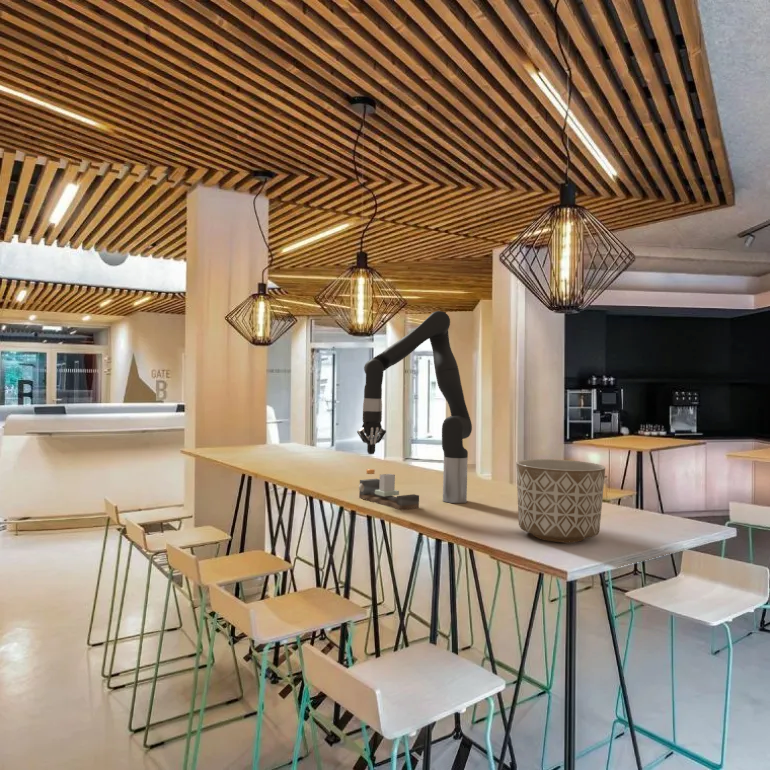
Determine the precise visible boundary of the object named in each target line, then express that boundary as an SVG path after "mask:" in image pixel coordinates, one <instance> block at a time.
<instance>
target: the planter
mask: <svg viewBox="0 0 770 770" xmlns="http://www.w3.org/2000/svg"><path fill="white" fill-rule="evenodd" d="M605 476H606V466H604V465H602V464H598V463H594V462H586V461H580V460H569V459H551V458H550V459H549V458H547V459H546V458H545V459H544V458H540V459H539V458H535V459H533V458H532V459H521V460H517V461H516V484H517V485H516V488H517V513H518V526H519V528H520V529H521V530H523V531H525V532H527V533H529V534H532V535H533V537H535V538H537V539H539V540H543V541H548V542H555V543H556V542H557V543H579V542H582V541H584V539H589V538H592V537H596V536H598V534H599V533H600V531H601V530H600V529H601V519H602V508H603V499H604V497H603V496H604V486H605V478H606V477H605Z"/></svg>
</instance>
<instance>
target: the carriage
mask: <svg viewBox="0 0 770 770" xmlns="http://www.w3.org/2000/svg"><path fill="white" fill-rule="evenodd" d="M379 479H380V483H379V490H375V494H377V495H381V496H400V491H399V490H396V489H395V487H396V486H395V483H396V482H395V481H396V474H395V473H394V474H392V473H383V474H379Z"/></svg>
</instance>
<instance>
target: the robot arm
mask: <svg viewBox="0 0 770 770" xmlns="http://www.w3.org/2000/svg"><path fill="white" fill-rule="evenodd" d="M450 325H451V318H450V315H448V313H447V312H445V311H441V310H437V311H434V312H432V313H431V314H430V315H428V317H427V318H426V319H424V321H423V322H422V323H420V324H419V325H418V326H417V327H416V328H415V329H413V330H412V331H411V332H409V333H408V334H406V335H405V336H403V337H401V338H400V339H399V340H397V341H395V343H393V344H391V345H390V346H388V347H387V348H386V349H384V350H383V351H382V352H380V353H378V354H377V355H375V356H374V357H372V358H371V359H369V360H368V361H367V362H365V364H364V366H363V369H364V373H365V385H364V390H363V405H362V426H361V428H360V429H358V430H357V431H356V432H357V435H358V436H359V438H360V439H361V441H362V443H364V444H366V445H367V447H366V448H367V449H366V450H367V453H368V455H374V454H375V453H376V444H379V443H380V442H381V440H383V437H384V436H385V434H386V433H387V430H386V429H383V427H382V418H383V416H382V415H383V400H382V398H383V397H382V396H383V379H384V371H387V369H388V368H390V367H392V366H394V365H397V363H399V362H400V361H402V360H404V359H405V358H406V357H408V356H409V355H410V354H411V353H413V352H414V351H415V350H416V349H417V348H418V347H419V346H421V345H422V344H423V343H424V342H425V341H427V340H429V342H430V346H431V349H432V357H433V365H434V372H435V377H436V382H437V386H438V388H439V391H440V392H441V394H442V396H443V397H444V400H446V402H447V405H448V407H449V411H450V416H447V417H446V418H445V419H444V420H443V422H442V425H441V448H442V451H443V473H442V474H443V476H442V479H443V480H442V483H443V484H442V501H443V502H445V503H450V504H451V503H452V504H462V503H463V504H465V503H466V504H467V502H468V501H467V498H468V496H467V495H468V493H467V492H468V461H469V460H468V457H469V456H468V455H469V454H468V453H469V452H468V450H467V449H466V448H465V447H464V444H463V442H464V441H463V440H464V439H467V438H469V437H470V436H471V433H472V431H473V424H472V421H471V417H470V414H469V411H468V407H467V405H466V400H465V396H464V390H463V386H462V382H461V381H462V379H461V375H460V370H459V366H458V363H457V360H456V357H455V355H454V353H453V351H452V347H451V343H450V337H449V329H450Z"/></svg>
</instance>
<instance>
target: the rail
mask: <svg viewBox="0 0 770 770" xmlns="http://www.w3.org/2000/svg"><path fill="white" fill-rule="evenodd" d="M379 483H380V478H367V479H359V485H358V491H359V496H358V497H359V499H362V500H366V501H369V502H372V503H376V504H380V505H382V506H386V507H390V508H393V509H397V510H401V511H404V510H412V509H418V508H419V507H420V495H419V494H415V493H413V494H403V495H396V496H395V495H393V496H381V495H377V494H375V490H379Z"/></svg>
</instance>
